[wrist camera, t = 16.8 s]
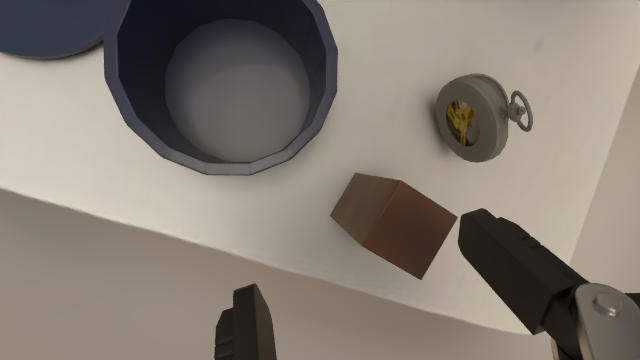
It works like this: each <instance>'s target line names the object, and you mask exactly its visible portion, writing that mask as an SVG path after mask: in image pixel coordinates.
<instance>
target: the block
mask: <svg viewBox="0 0 640 360" xmlns="http://www.w3.org/2000/svg"><path fill="white" fill-rule="evenodd" d="M330 216H331V217H332V218H333V219H334V220H335V221H336V222H337V223H338V224H339V225H340V226H341V227H342V228H343V229H344V230H345V231H347V232H348V233H349V234H350V235H351V236H352V237H353V238H354V239H355V240H356V241H357V242H358V243H359V244H360V245H361V246H363V247H364V248H366V249H368V250H370V251H371V252H373V253H375V254H376V255H378V256H380V257H382V258H383V259H385V260H387V261H389V262H390V263H392V264H394V265H396V266H397V267H399V268H401V269H402V270H404V271H406V272H408V273H409V274H411V275H413V276H415V277H416V278H418V279H420V280H422V278H423V276H424V275H425V273H426V271H427V270H428V268H429V266H430V264H431V263H432V261H433V259H434V258H435V256H436V254H437V252H438V251H439V249H440V247H441V246H442V244H443V242H444V240H445V239H446V237H447V235H448V234H449V232H450V230H451V228H452V227H453V225H454V223H455V222H456V220H457V218H458V217H457V216H455V215H454V214H452V213H451V212H449V211H448V210H446V209H445V208H443V207H442V206H440V205H438V204H437V203H435V202H434V201H432V200H431V199H429V198H428V197H426V196H425V195H423V194H421V193H420V192H418V191H417V190H415V189H414V188H412V187H411V186H409V185H408V184H406V183H404V182H403V181H401V180H395V179H389V178H383V177H377V176H371V175H365V174H359V173H355V175H354V176H353V178H352V180H351V181H350V183H349V185H348V186H347V188H346V190H345V191H344V193H343V195H342V196H341V198H340V200H339V201H338V203H337V205H336V206H335V208H334V210H333V211H332V213H331V215H330Z"/></svg>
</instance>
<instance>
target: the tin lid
mask: <svg viewBox="0 0 640 360" xmlns="http://www.w3.org/2000/svg"><path fill="white" fill-rule="evenodd" d="M114 2H115V0H0V52H1V53H4V54H8V55H12V56H16V57H22V58H30V59H53V58H62V57H66V56H70V55H74V54H77V53H80V52H82V51H85V50H87V49H89V48H91V47H93V46H95V45H96V44H98V43H100V42H101V41H102V40H103V31H104V30H103V28H104V26H105V23H106V21H107V19H108V16H109V14H110V12H111V9H112V7H113V5H114Z"/></svg>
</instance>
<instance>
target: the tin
mask: <svg viewBox="0 0 640 360" xmlns="http://www.w3.org/2000/svg"><path fill="white" fill-rule="evenodd" d="M103 30H104V31H103V44H104V75H105V81H106V83H107V85H108V87H109V89H110V91H111V93H112V96H113V98H114V100H115V102H116V104H117V106H118V108H119V110H120V113H121V115H122V117H123V119H124V121H125V123H127V125H128V126H129V127H130V128H131V129H132V130H133V131H134V132H135V133H136V134H137V135H138V136H139V137H140V138H142V139H143V140H144V141H145V142H146V143H147V144H148V145H149V146H150V147H151V148H152V149H153V150H154V151H155V152H157V153H158V154H159V155H160V156H161V157H163V158H165V159H167V160H170V161H172V162H175V163H177V164H180V165H182V166H185V167H187V168H190V169H192V170H195V171H197V172H200V173H202V174H206V175H253V174H256V173H258V172H261V171H263V170H266V169H268V168H271V167H273V166H276V165H278V164H281V163H283V162H286V161H288V160H290V159H292V158H293V157H294V156H295V155H296V154H297V153H298V152H299V151H300V150H301V149H302V148H303V147H304V146H305V145H306V144H307V143H308V142H309V141H310V140H311V139H312V138H313V137H314V136H315V135H316V134H317V133H319V131H320V130H321V128H322V126H323V123H324V121H325V119H326V116H327V114H328V112H329V109H330V107H331V105H332V102H333V100H334V98H335V95H336V92H337V58H338V50H337V46H336V44H335V41H334V38H333V35H332V32H331V30H330V27H329V24H328V21H327V19H326V16H325V13H324V10H323V8H322V7H321V5H320V4H319V3H318V2H317V1H316V0H115V2H114V5H113V7H112V9H111V12H110V14H109V16H108V19H107V21H106V23H105V26H104V28H103Z"/></svg>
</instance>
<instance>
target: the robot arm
mask: <svg viewBox="0 0 640 360" xmlns="http://www.w3.org/2000/svg"><path fill="white" fill-rule="evenodd" d="M458 245H459V248H460V251H461V253H462V254H463V256H464V257H465V258H466V259H467V261H468V262H469V263H470V264H471V265H472V266H473V267H474V269H475V270H476V271H477V272H478V273H479V274H480V275H481V277H482V278H483V279H484V280H485V281H486V282H487V283H488V284H489V286H490V287H491V288H492V289H493V290H494V291H495V292H496V294H497V295H498V296H499V297H500V298H501V299H502V300H503V302H504V303H505V304H506V305H507V306H508V307H509V308H510V309H511V311H512V312H513V313H514V314H515V315H516V316H517V317H518V319H519V320H520V321H521V322H522V323H523V324H524V325H525V327H526V328H527V329H528V330H529V331H530V332H531V333H532V334H533V335H536V334H538V333H541V332H543V331H546V332H547V333H548V334H549V335H550V336H551V347H552V352H553V358H554V360H640V293H622V292H621V291H618V290H617V289H615V288H612V287H610V286H607V285H603V284H598V283H590V282H588V281H587V280H585V279H584V278H583V277H581V276H580V275H579V274H578V273H577V272H575V271H574V270H573V269H572V268H570V267H569V266H568V265H567V264H565V263H564V262H563V261H562V260H561V259H559V258H558V257H557V256H556V255H554V254H553V253H552V252H551V251H549V250H548V249H547V248H546V247H544V246H543V245H541V244H540V242H538V241H537V240H536V239H535V238H533V237H531V236H530V234H528V233H527V232H526V231H525V230H523V229H522V228H521V227H520V226H519V225H517V224H515V223H513V222H511V221H509V220H506V219H504V218H502V217H500V218H496V217H494V216H493V215H492V214H491V213H490V212H488V211H487V210H486V209H483V208H481V209H477V210H475V211H472V212H469V213H466V214H463V215H462V216H461V220H460V229H459V237H458ZM215 345H216V347H215V356H214V358H215V360H277V358H276V349H275V341H274V333H273V324H272V319H271V314H270V311H269V308H268V306H267V304H266V302H265V300H264V298H263V296H262V294H261V292H260V290H259V288H258V286H257V285H256V284H255V283H254V284H251V285H248V286H246V287H243V288H239V289H236V290H234V294H233V308H230V309H227V310H224V311H223V312H222V314H221V316H220V319H219V321H218V324H217V326H216V337H215Z"/></svg>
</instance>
